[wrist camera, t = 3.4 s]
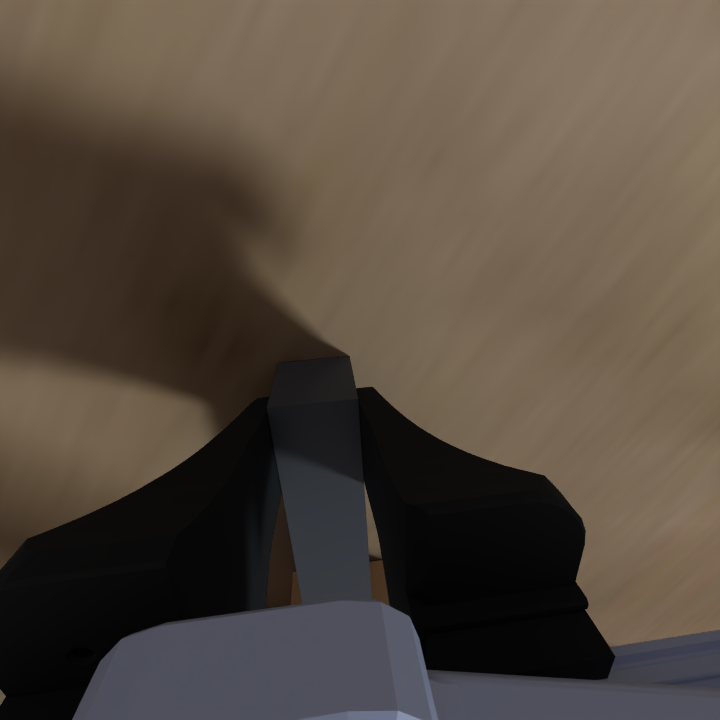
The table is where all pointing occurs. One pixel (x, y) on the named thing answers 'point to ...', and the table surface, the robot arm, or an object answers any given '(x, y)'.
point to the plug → (323, 480)
